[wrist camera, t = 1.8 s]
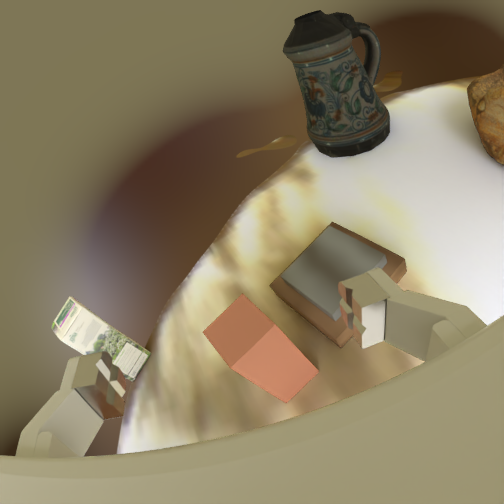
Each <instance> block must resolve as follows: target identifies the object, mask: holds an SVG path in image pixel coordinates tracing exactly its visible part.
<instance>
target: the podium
mask: <svg viewBox="0 0 504 504" xmlns="http://www.w3.org/2000/svg"><path fill="white" fill-rule="evenodd" d="M377 267H378V268H381V269H382V270H383V271H384V272H385V273H386V274H387V275H388V276H389V277H390V278H391V279H392V280H393V281H394V282H395V283H396V284H397V283H398V282H399V280H400V279H401V278H402V277H403V275H404V274H405V273H406V271H407V270H406V263H405V259H404V258H402V257H401V256H399V255H397V254H395V253H393V252H391V251H389V250H387V249H385V248H383V247H381V246H380V245H378V244H376V243H374V242H372V241H370V240H368V239H366V238H364V237H362V236H360V235H358V234H356V233H354V232H352V231H350V230H348V229H346V228H344V227H342V226H340V225H338V224H336V223H334V222H331V224H330V225H329V226H328V227H327V228H326V229H325V230H324V231H323V232H322V233H321V234H320V235H319V236H318V237H317V238H316V239H315V240H314V241H313V242H312V243H311V244H310V245H309V246H308V247H307V248H306V249H305V250H304V251H303V252H302V253H301V254H300V255H299V256H298V257H297V258H296V259H295V260H294V261H293V262H292V263H291V264H290V265H289V266H288V267H287V268H286V269H285V270H284V271H283V272H282V273H281V274H280V275H279V276H278V277H277V278H276V279H275V280H274V281H273V282H272V283H271V284H270V285H269V286H270V287H271V288H272V289H273V291H274V292H275V293H276V295H277V296H278V297H280V298H281V299H282V300H283V301H284V302H286V303H287V304H288V305H289V306H290V307H292V308H293V309H294V310H295V311H296V312H298V313H299V314H300V315H301V316H303V317H304V318H305V319H306V320H307V321H309V322H310V323H311V324H312V325H313V326H315V327H316V328H317V329H318V330H320V331H321V332H322V333H323V334H324V335H326V336H327V337H328V338H329V339H331V340H332V341H333V342H334V343H335V344H337V345H338V346H339V347H340V348H342V347H343V346H344V345H345V344H346V343H347V341H348V340H349V339H350V338H351V337H352V336H353V335H354V334H353V330H352V329H350V328H348V327H347V325H346V324H345V322H344V320H343V318H342V314H341V311H340V301H341V299H342V296H341V295H340V294H339V292H338V284H339V282H341V281H344V280H347V279H349V278H352V277H355V276H358V275H360V274H363V273H365V272H367V271H370V270H372V269H375V268H377Z"/></svg>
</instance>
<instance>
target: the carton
mask: <svg viewBox="0 0 504 504" xmlns="http://www.w3.org/2000/svg"><path fill="white" fill-rule="evenodd" d="M203 333H204V335H205V336H206V337H207V339H208V340H209V341H210V343H211V344H212V345H213V346H214V348H215V349H216V350H217V352H218V353H219V354H220V356H221V357H222V358H223V359H224V361H225V362H226V363H227V365H228V366H229V367H230V368H231V369H233V370H234V371H236V372H237V373H239V374H240V375H242V376H243V377H245V378H246V379H248V380H249V381H251V382H253V383H254V384H256V385H257V386H259V387H261V388H262V389H264V390H265V391H267V392H269V393H270V394H272V395H274V396H275V397H277V398H278V399H280V400H282V401H283V402H285V403H287V402H288V401H289V400H290V399H291V398H293V397H294V396H295V395H296V394H297V393H298V392H299V391H300V390H301V389H302V388H303V387H304V386H305V385H306V384H307V383H308V382H309V381H310V380H311V379H312V378H313V377H314V376H315V375H316V374H317V373H318V372H319V371H318V370H317V369H316V368H315V366H314V365H313V364H312V363H311V362H310V361H309V360H308V359H307V358H306V357H305V356H304V355H303V354H302V353H301V351H300V350H299V349H298V348H297V347H296V346H295V345H294V344H293V343H292V342H291V341H290V340H289V339H288V337H287V336H286V335H285V334H284V333H283V332H282V331H281V330H280V329H279V328H278V327H277V326H276V324H275V323H273V322H272V321H271V320H270V319H269V318H268V317H267V316H266V315H265V314H264V313H263V312H262V311H261V310H260V309H258V308H257V307H256V306H255V305H254V304H253V303H252V302H251V301H250V300H249V299H248V298H247V297H246V296H245V295H244V294H243V293H242V294H241V295H240V296H239V297H238V298H237V299H236V300H235V301H234V302H233V303H232V304H231V305H230V306H229V307H228V308H227V309H226V310H225V311H224V312H223V313H222V314H221V315H220V316H219V317H218V318H217V319H216V320H215V321H214V322H213V323H212V324H210V325H209V326H208V327H207V328H206V329H205V330H204V331H203Z"/></svg>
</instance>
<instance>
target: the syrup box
mask: <svg viewBox="0 0 504 504" xmlns="http://www.w3.org/2000/svg"><path fill="white" fill-rule="evenodd" d="M51 328H52V329H53V331H54V333H55V334H56V335H57V337H58V338H59V339H60V340H61V341H62V342H64V343H65V344H67V345H69V346H70V347H72V348H74V349H75V350H77V351H79V352H80V353H82V354H84V355H87V354H92V353H97V352H102V351H106V352H108V353H109V354H110V356H111V357H112V358H113V360H112V364H114V365H116V366H118V367H119V368H120V370H121V371H122V373H123V375H124V377H125V378H127V379H129V380H130V381H134V380H135V378H136V377H137V375H138V373H139V372H140V370H141V368H142V367H143V365H144V364H145V362H146V360H147V359H148V357H149V356H150V354H151V353H150V352H149V351H148V350H146V349H145V348H143V347H142V346H141V345H139V344H138V343H137V342H135V341H133V340H132V339H131V338H129V337H127V336H126V335H124V334H122V333H121V332H120V331H118V330H117V329H115V328H114V327H112V326H111V325H109V324H108V323H107V322H105V321H104V320H102V319H101V318H100V317H98V316H97V315H96V314H94V313H93V312H92V311H90V310H89V309H87V308H86V307H85V306H84V305H82V304H81V303H80V302H78V301H77V300H76V299H74V298H73V297H71V296H70V297H69V298H68V300H67V301H66V303H65V304H64V306H63V308H62V309H61V311H60V312H59V314H58V316H57V317H56V319H55V320H54V322H53V324H52V325H51Z"/></svg>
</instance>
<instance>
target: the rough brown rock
mask: <svg viewBox="0 0 504 504" xmlns="http://www.w3.org/2000/svg"><path fill="white" fill-rule="evenodd" d="M467 94H468V99H469V106H470V109H471V113H472V117H473V120H474V124H475V126H476V129H477V131H478V133H479V136H480V138H481V141H482V143H483V146H484V148H485V149H486V151H487V153H488V154H489V155H490V156H491V157H492V158H494V159H495V160H496V161H497V162H498V163H500V164H502V165H504V64H503V66H502V67H501V68H500V69H499V70H497V71H496V72H493V73H490V74H487V75H484V76H481V77H479V78H477V79H476V80H474V81H473V82H472V83H471V84H470V85H469V86H468V88H467Z"/></svg>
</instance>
